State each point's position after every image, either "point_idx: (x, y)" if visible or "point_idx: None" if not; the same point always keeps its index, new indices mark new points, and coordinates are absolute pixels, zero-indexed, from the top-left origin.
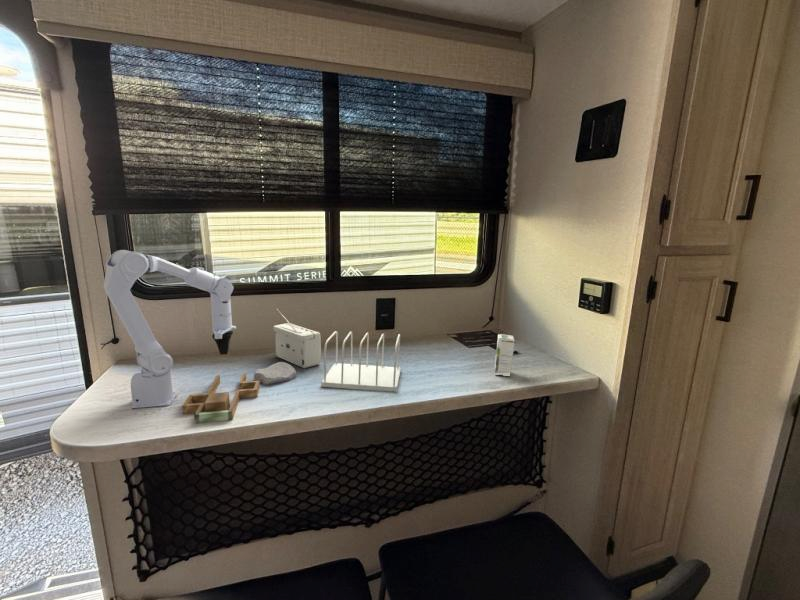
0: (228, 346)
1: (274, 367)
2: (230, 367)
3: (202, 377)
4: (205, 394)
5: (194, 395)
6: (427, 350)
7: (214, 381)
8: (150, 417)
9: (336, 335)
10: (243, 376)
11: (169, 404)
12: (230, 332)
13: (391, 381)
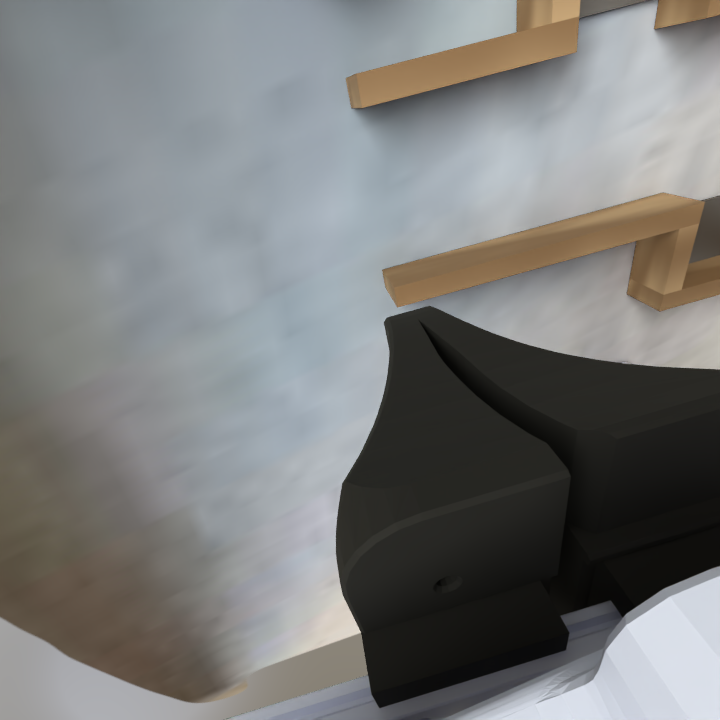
0: (450, 338)
1: None
2: (110, 324)
3: (315, 396)
4: (689, 228)
5: (676, 283)
6: None
7: (501, 270)
8: (703, 365)
9: None
10: (428, 69)
11: (628, 362)
12: (545, 515)
13: None
